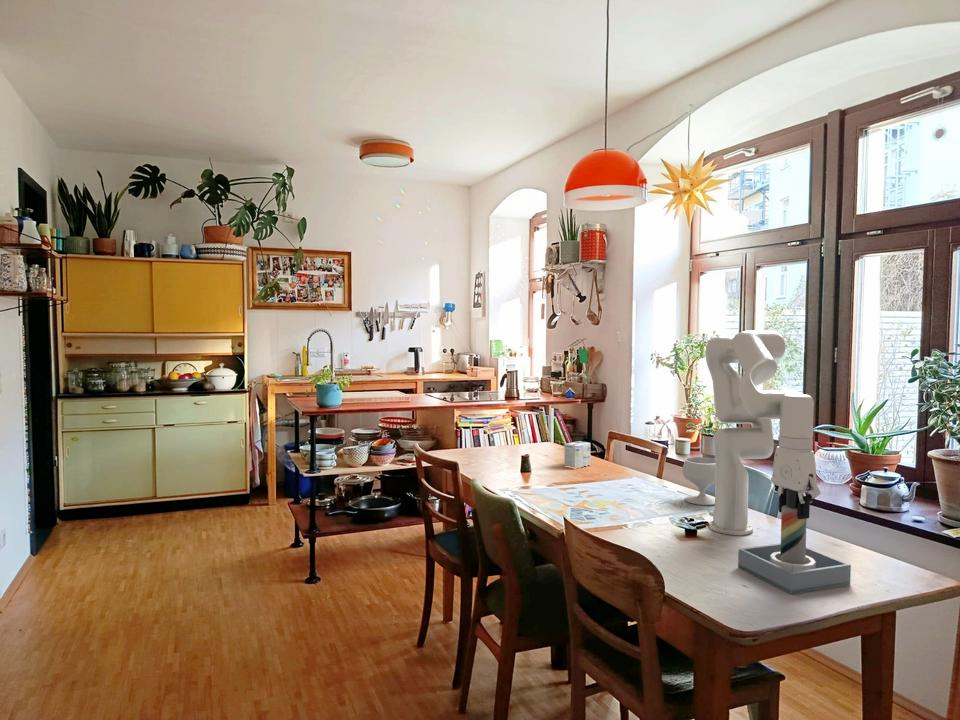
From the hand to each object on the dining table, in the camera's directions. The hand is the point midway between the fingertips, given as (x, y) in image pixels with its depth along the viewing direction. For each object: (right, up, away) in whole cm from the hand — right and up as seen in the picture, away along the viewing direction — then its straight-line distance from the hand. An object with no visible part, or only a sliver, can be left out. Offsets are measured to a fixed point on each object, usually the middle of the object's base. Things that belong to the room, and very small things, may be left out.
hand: (793, 514), depth 163 cm
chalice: (+1, -12, +70) cm, 72 cm away
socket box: (0, -16, +1) cm, 16 cm away
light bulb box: (-35, -9, +128) cm, 133 cm away
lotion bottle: (0, -14, +1) cm, 14 cm away
